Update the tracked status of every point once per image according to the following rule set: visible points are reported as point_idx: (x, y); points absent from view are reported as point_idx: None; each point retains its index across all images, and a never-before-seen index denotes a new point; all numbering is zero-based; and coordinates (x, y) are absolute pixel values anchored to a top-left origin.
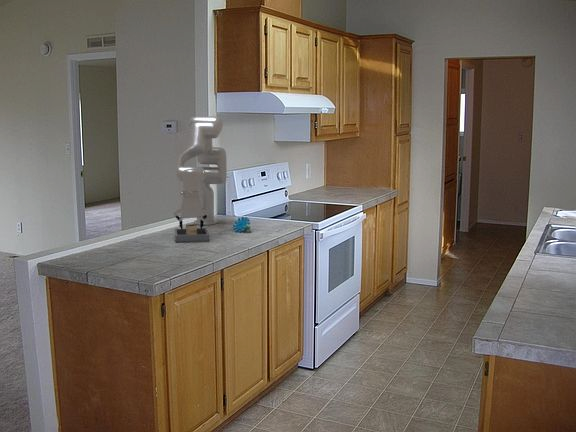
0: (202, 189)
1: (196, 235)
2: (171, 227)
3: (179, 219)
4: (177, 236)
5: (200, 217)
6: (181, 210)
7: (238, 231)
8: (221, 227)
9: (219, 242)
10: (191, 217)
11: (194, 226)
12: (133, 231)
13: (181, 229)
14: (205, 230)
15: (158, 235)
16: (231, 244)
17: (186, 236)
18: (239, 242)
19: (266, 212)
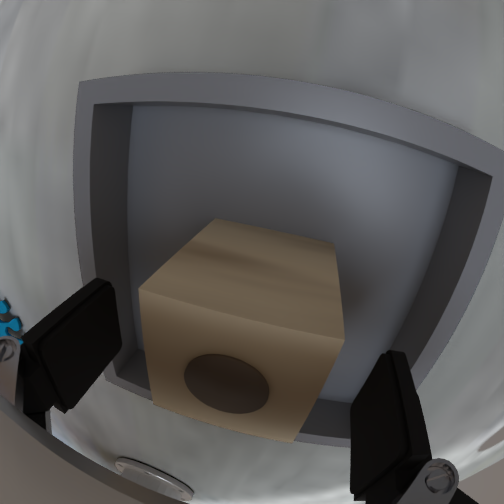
0: None
1: (227, 73)
2: (294, 497)
3: (451, 489)
4: (493, 148)
5: (1, 395)
6: None
7: (6, 307)
8: (89, 419)
9: (71, 60)
10: (153, 499)
11: (181, 295)
12: (461, 472)
13: (316, 433)
14: None
15: (440, 424)
16: (40, 11)
17: (384, 103)
18: (2, 69)
19: None
